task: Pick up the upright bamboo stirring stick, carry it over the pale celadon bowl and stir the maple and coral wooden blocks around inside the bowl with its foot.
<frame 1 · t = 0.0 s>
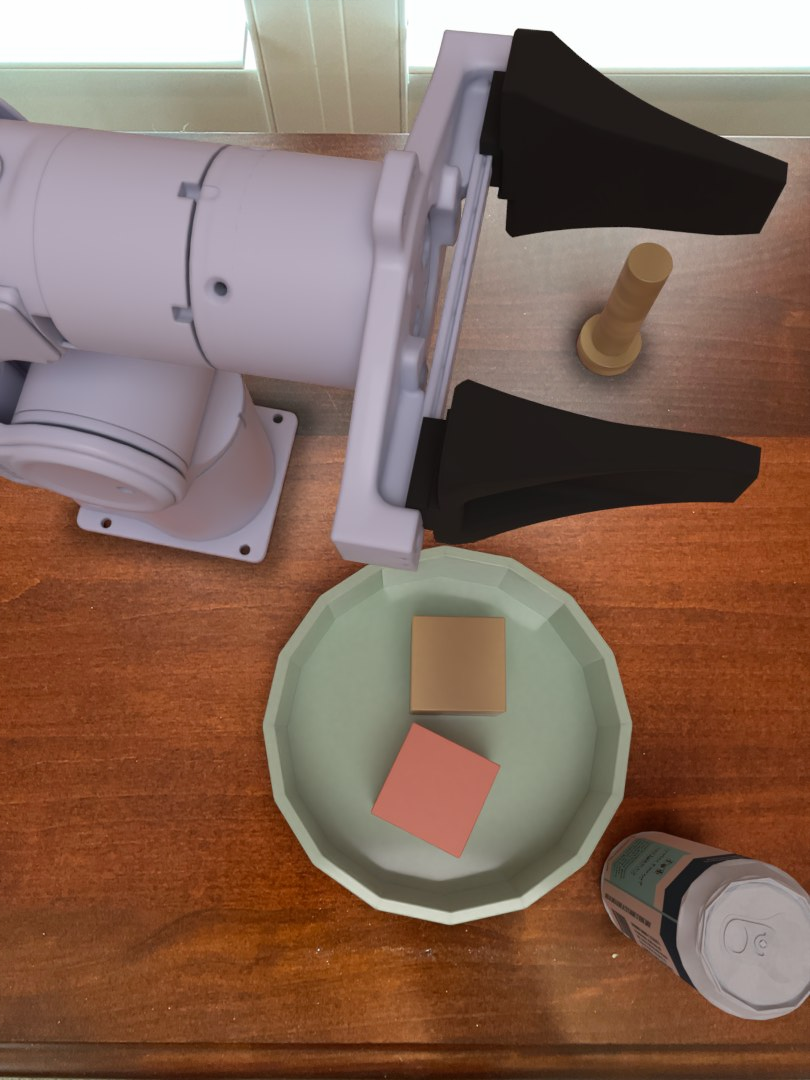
hand: (761, 331, 21), 22 cm above the table, tool horizontal, fingers open, 7 cm apart
dish: (441, 728, 39), on the table
stir tool: (606, 348, 44), on the table
block maple: (452, 672, 39), point 1 cm above the table, touching dish
block coral: (432, 785, 38), point 1 cm above the table, touching dish
beer can: (649, 885, 38), on the table
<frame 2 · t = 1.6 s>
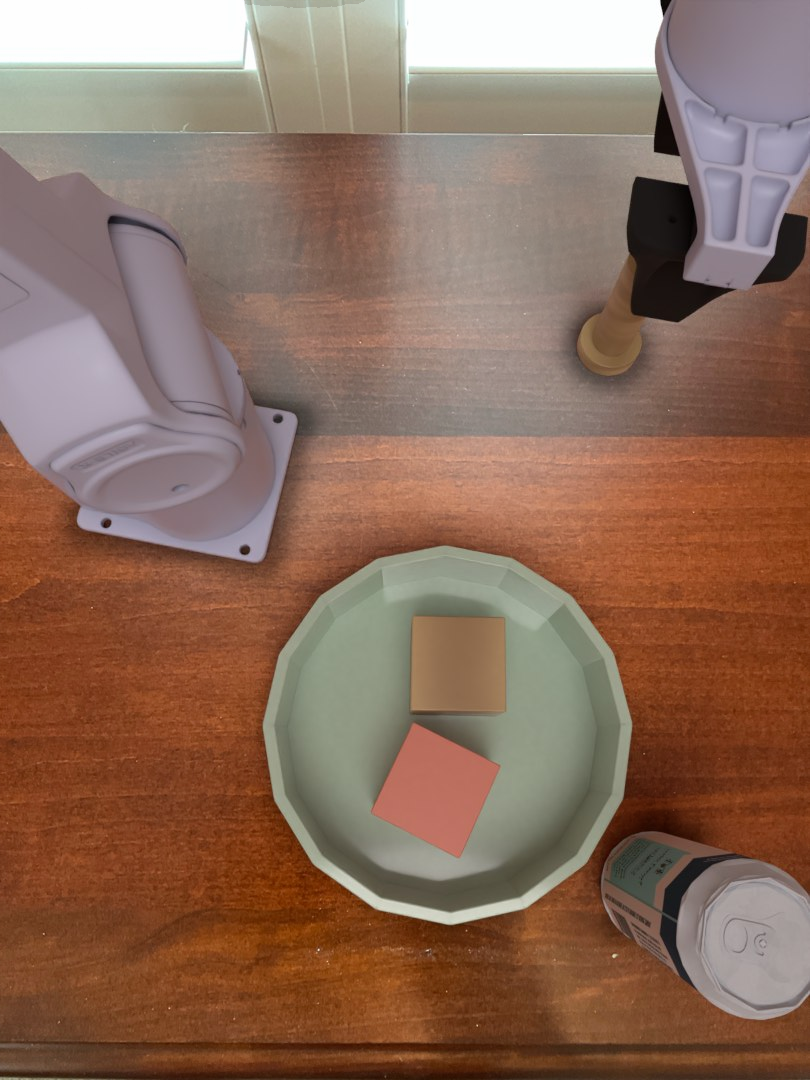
hand: (667, 228, 34), 10 cm above the table, tool pointing down, fingers open, 7 cm apart
nothing on the table moved.
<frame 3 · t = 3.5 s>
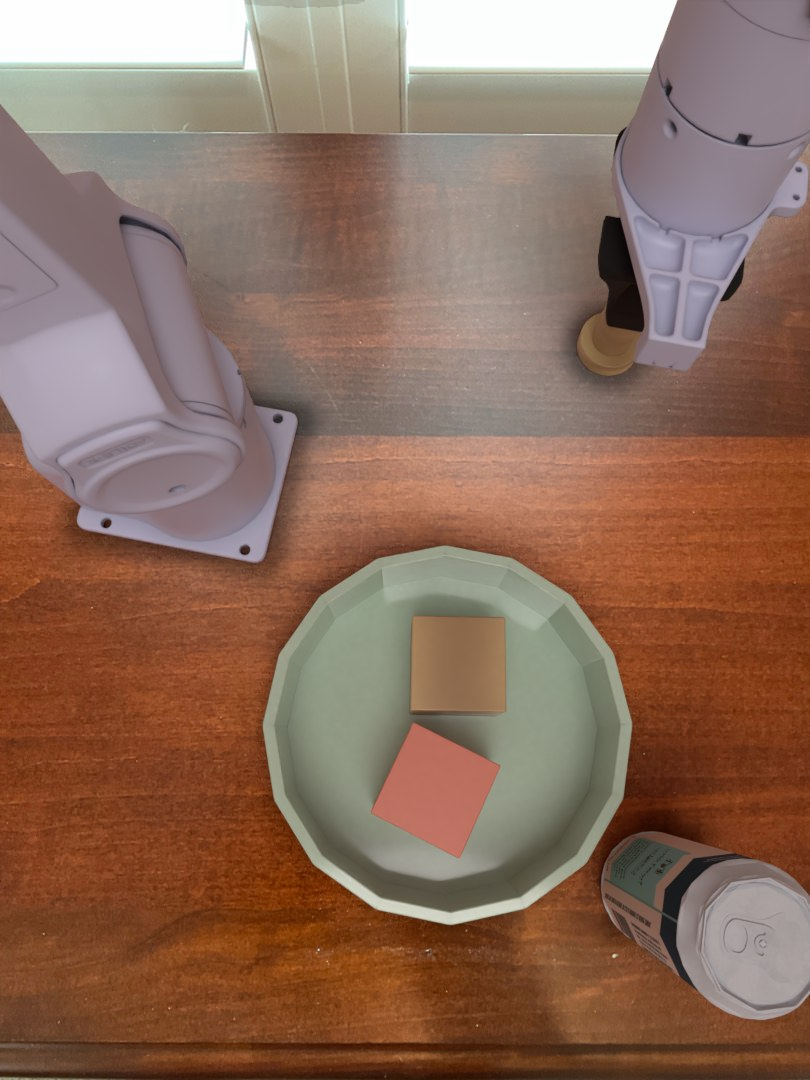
hand: (631, 299, 40), 5 cm above the table, tool pointing down, fingers closed on stir tool, 2 cm apart
stir tool: (606, 348, 44), on the table, touching gripper
everything else where it was.
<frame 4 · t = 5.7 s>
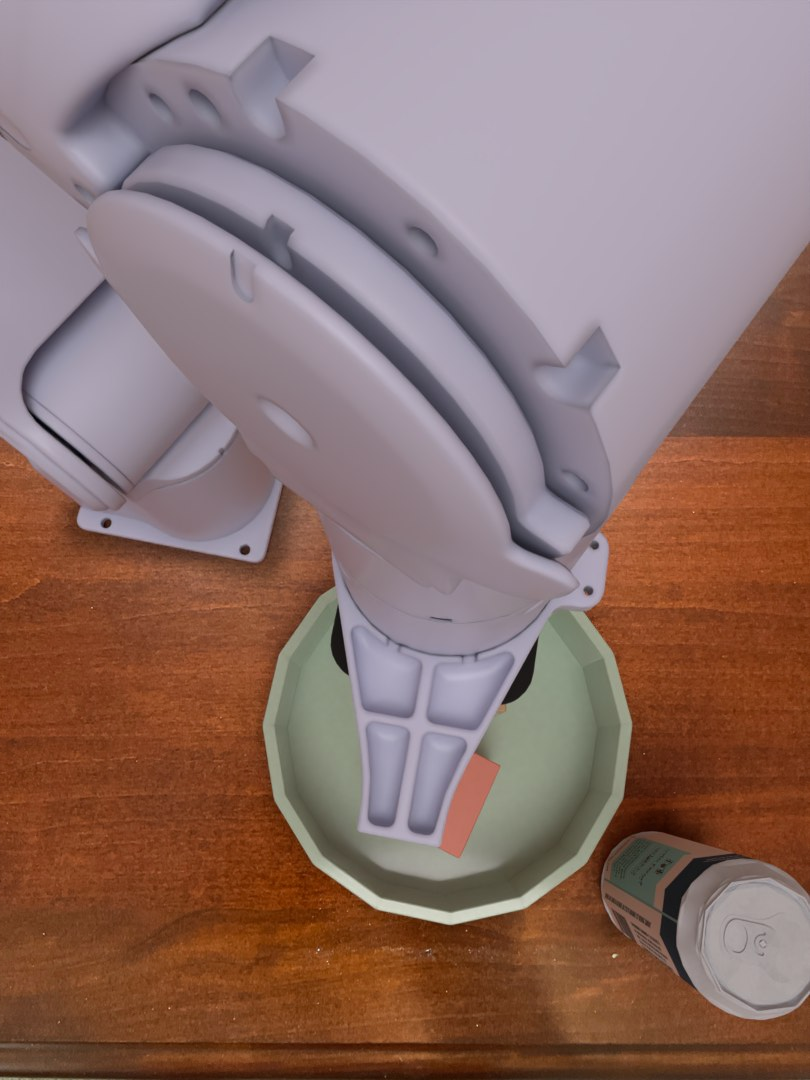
hand: (442, 611, 30), 10 cm above the table, tool pointing down, fingers closed on stir tool
stir tool: (441, 633, 35), point 6 cm above the table, touching gripper
everything else where it was.
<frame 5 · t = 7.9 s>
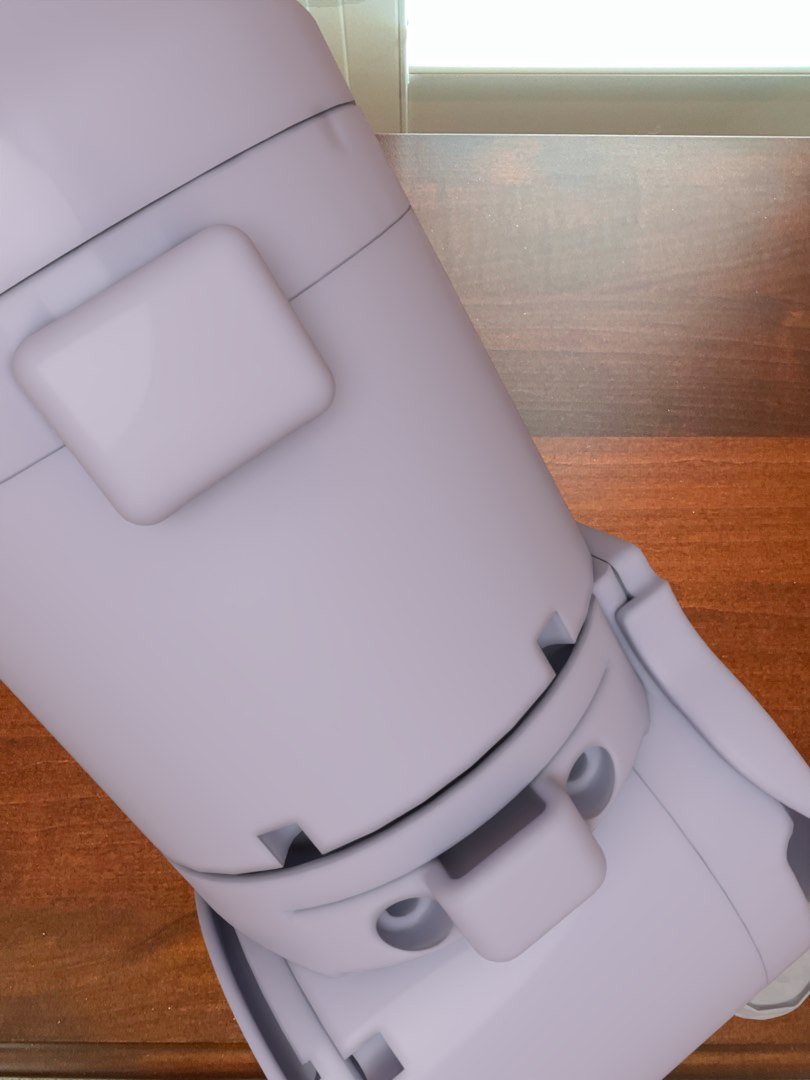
hand: (432, 791, 33), 6 cm above the table, tool pointing down, fingers closed on stir tool, 2 cm apart
stir tool: (402, 768, 37), point 1 cm above the table, tilted 12°, touching block coral, gripper
block coral: (471, 819, 38), point 1 cm above the table, touching dish, stir tool
everything else where it was.
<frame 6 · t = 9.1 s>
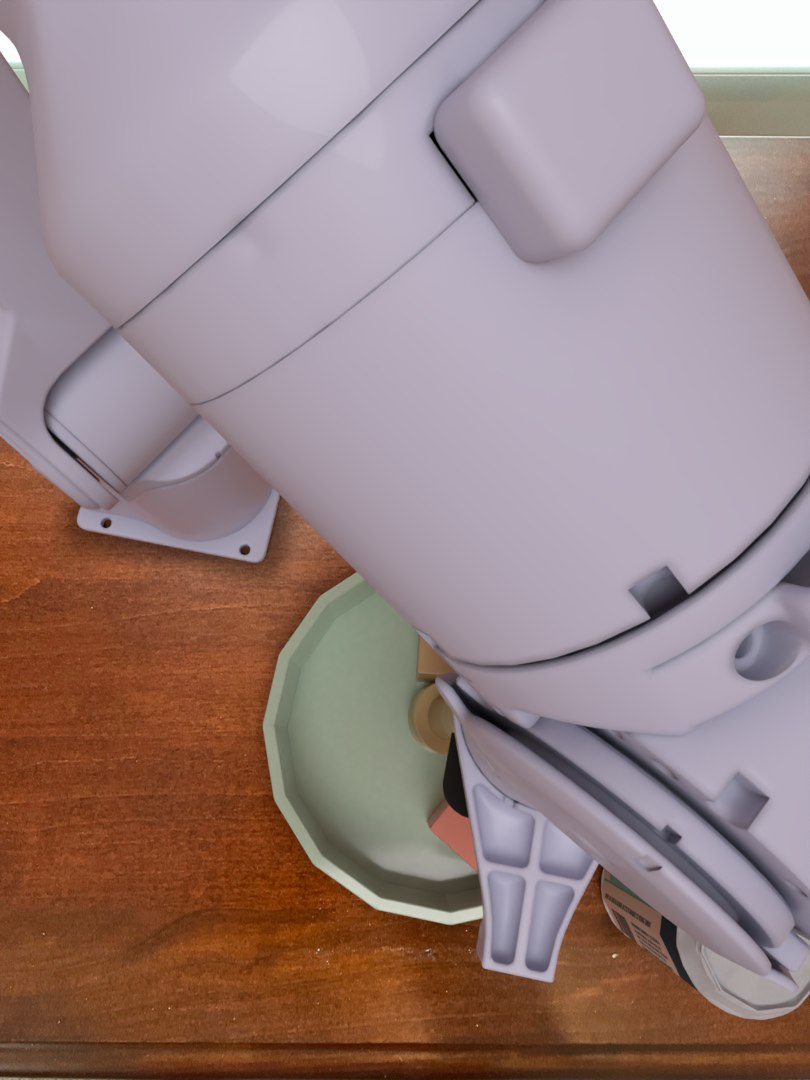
hand: (515, 722, 34), 6 cm above the table, tool pointing down, fingers closed on stir tool, 2 cm apart
stir tool: (441, 717, 38), point 2 cm above the table, tilted 17°, touching block maple, gripper
block maple: (460, 641, 40), point 1 cm above the table, touching dish, stir tool
block coral: (488, 816, 38), point 1 cm above the table, touching dish
everything else where it was.
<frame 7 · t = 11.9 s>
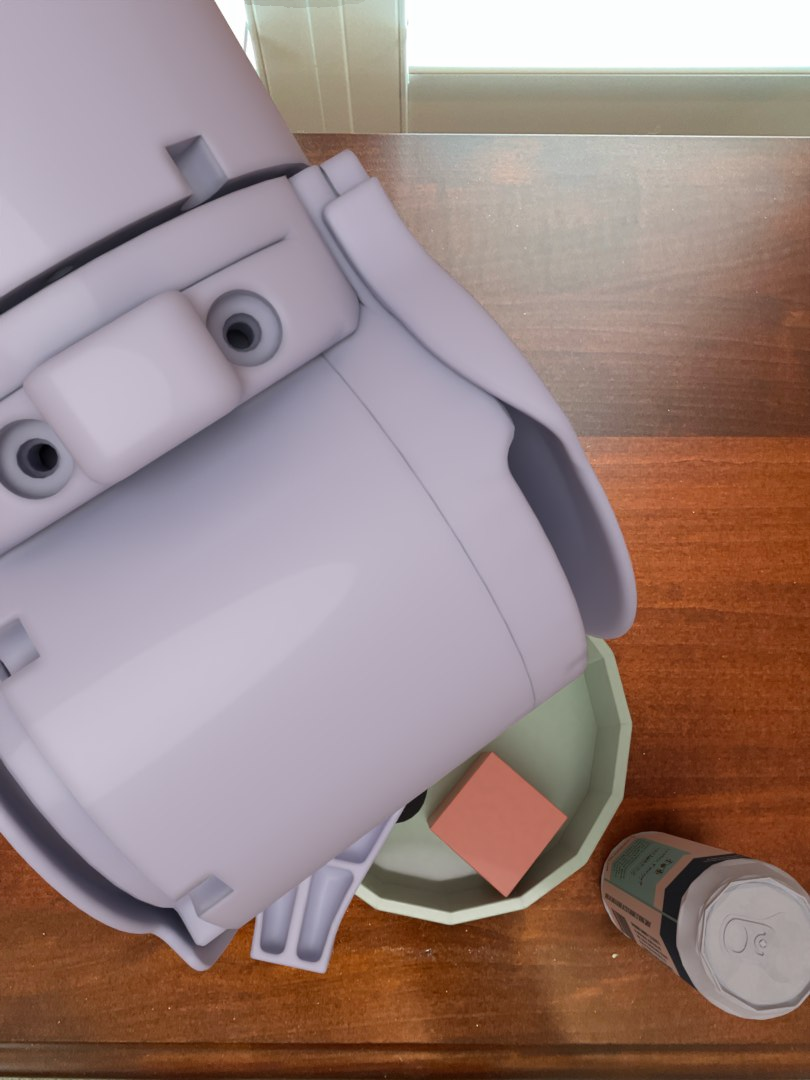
hand: (361, 703, 32), 8 cm above the table, tool pointing down, fingers closed on stir tool, 2 cm apart
stir tool: (337, 704, 37), point 3 cm above the table, tilted 11°, touching gripper
block maple: (454, 629, 40), point 1 cm above the table, touching dish
everything else where it was.
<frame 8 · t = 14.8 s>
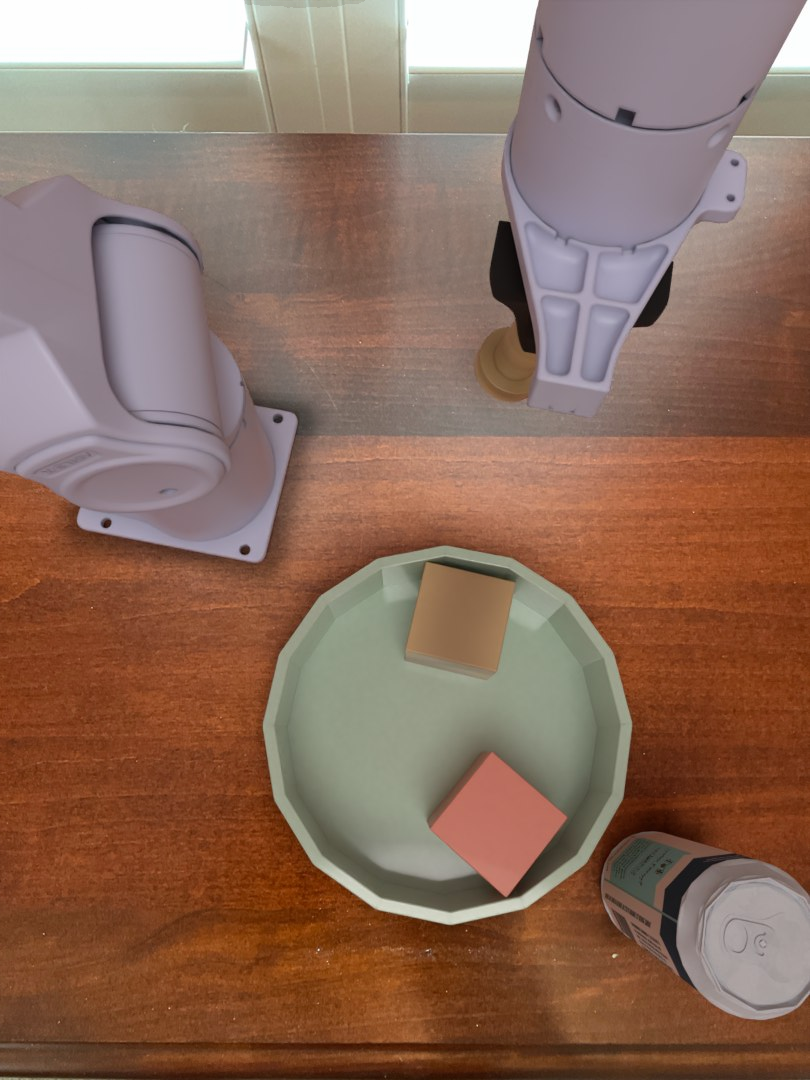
hand: (552, 319, 33), 10 cm above the table, tool pointing down, fingers closed on stir tool
stir tool: (507, 369, 38), point 5 cm above the table, tilted 11°, touching gripper
everything else where it was.
at the end: block maple moved 2.0 cm from its start; block maple inside the target area (4.6 cm from its centre), point 0.8 cm above the table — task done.
